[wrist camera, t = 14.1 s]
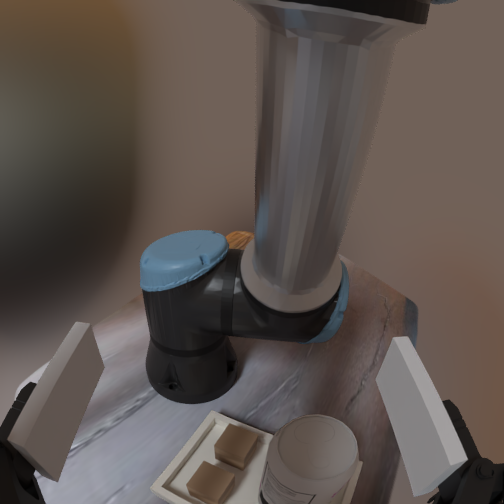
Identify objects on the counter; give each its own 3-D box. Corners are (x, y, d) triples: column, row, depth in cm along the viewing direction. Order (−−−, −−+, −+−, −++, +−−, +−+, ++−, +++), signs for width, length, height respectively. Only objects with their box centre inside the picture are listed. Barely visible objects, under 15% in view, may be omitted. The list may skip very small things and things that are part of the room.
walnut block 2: (215, 458, 34) (214, 445, 32) (229, 437, 37) (229, 422, 35) (243, 471, 32) (244, 458, 31) (256, 448, 36) (258, 434, 34)
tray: (153, 493, 28) (149, 487, 27) (212, 418, 41) (211, 410, 40) (322, 562, 20) (327, 560, 19) (357, 468, 33) (363, 461, 32)
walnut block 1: (189, 495, 28) (185, 484, 27) (206, 472, 32) (203, 460, 30) (219, 509, 27) (218, 500, 25) (234, 485, 30) (234, 474, 28)
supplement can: (255, 473, 32) (265, 411, 25) (319, 469, 32) (352, 405, 26) (259, 528, 25) (273, 491, 18) (329, 521, 25) (374, 476, 19)
